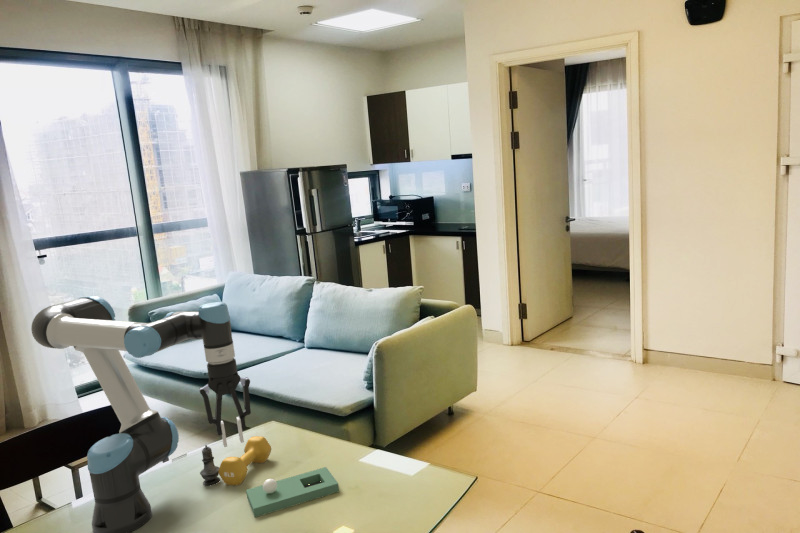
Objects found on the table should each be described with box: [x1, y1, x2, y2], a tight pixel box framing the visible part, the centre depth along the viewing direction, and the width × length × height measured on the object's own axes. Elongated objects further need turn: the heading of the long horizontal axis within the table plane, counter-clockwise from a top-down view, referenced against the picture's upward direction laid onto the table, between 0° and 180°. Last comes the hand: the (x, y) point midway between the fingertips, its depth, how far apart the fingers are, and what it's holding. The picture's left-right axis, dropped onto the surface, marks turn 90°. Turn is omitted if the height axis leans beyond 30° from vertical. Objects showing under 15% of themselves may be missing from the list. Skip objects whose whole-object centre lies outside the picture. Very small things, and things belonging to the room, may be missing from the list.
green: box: [245, 466, 340, 518], centre depth 176 cm, size 24×12×2 cm, turn 114°
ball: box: [262, 478, 277, 494], centre depth 173 cm, size 4×4×4 cm
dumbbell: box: [218, 435, 272, 486], centre depth 193 cm, size 19×9×8 cm, turn 162°
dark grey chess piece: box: [199, 444, 221, 487], centre depth 189 cm, size 6×6×12 cm
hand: (233, 442), depth 168 cm, fingers open, 4 cm apart
